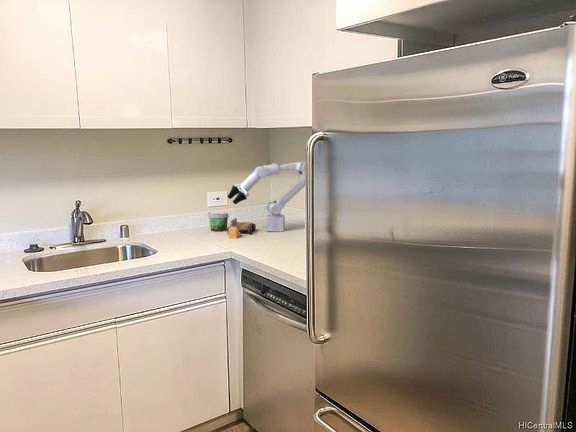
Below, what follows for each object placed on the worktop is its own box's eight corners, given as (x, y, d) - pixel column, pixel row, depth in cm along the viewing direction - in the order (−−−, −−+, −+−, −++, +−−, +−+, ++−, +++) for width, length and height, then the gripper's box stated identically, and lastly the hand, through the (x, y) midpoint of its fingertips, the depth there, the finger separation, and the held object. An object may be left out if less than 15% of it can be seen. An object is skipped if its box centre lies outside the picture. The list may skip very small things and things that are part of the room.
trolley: (255, 230, 260) (255, 217, 259) (250, 234, 247) (249, 222, 246) (234, 229, 262) (233, 217, 261) (227, 234, 249) (227, 221, 248)
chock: (240, 235, 247) (239, 225, 246) (236, 238, 239) (235, 228, 239) (233, 235, 248) (232, 225, 247) (228, 238, 240) (228, 228, 239)
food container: (204, 231, 258) (203, 213, 256) (209, 229, 264) (208, 212, 262) (224, 232, 254) (224, 214, 253) (229, 230, 260) (228, 212, 258)
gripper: (239, 174, 254) (221, 191, 253) (250, 183, 242) (231, 201, 241) (246, 182, 258) (229, 199, 257) (257, 191, 247) (239, 209, 246)
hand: (231, 200), depth 250 cm, fingers open, 7 cm apart
